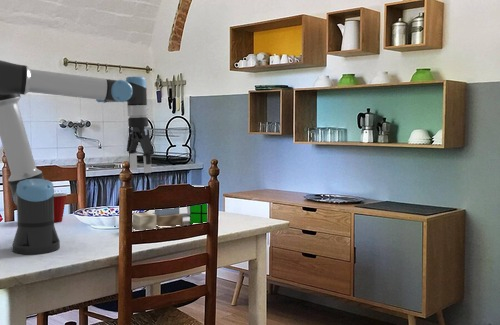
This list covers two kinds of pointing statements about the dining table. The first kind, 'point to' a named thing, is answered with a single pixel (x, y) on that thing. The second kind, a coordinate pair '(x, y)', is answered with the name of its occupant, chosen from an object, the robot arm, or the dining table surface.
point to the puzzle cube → (198, 213)
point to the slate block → (167, 212)
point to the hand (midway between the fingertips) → (140, 171)
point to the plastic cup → (59, 206)
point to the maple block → (144, 221)
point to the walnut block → (169, 220)
